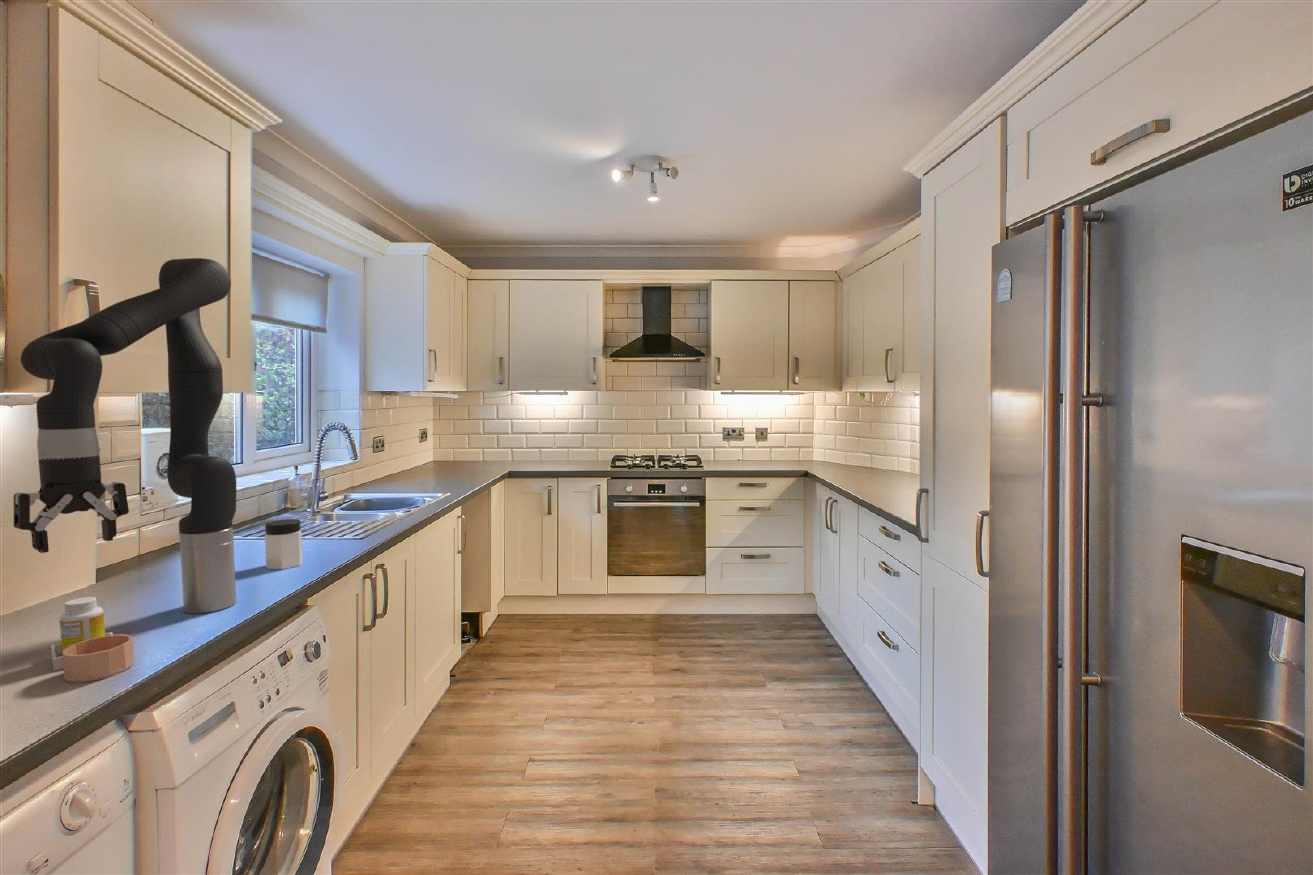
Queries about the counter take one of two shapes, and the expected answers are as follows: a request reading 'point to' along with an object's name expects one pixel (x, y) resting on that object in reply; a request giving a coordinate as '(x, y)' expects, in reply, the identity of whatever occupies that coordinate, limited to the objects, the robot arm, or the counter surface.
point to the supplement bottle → (81, 621)
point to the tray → (57, 651)
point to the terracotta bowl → (98, 658)
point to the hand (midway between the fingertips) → (76, 546)
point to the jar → (283, 544)
